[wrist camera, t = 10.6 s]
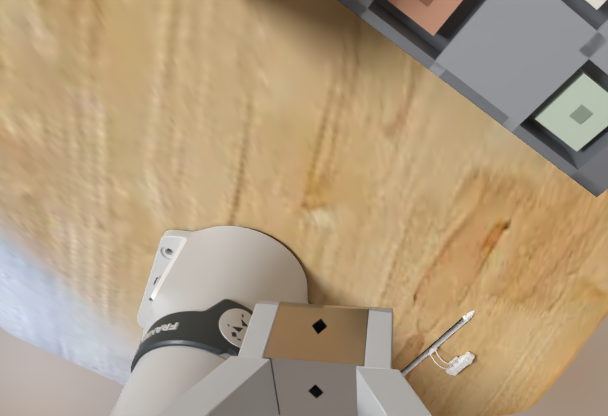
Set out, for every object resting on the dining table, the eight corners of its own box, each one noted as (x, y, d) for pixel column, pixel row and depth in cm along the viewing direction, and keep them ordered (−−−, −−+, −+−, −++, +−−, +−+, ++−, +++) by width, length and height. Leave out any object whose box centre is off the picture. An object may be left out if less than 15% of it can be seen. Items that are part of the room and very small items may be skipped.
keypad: (576, 162, 41) (596, 197, 36) (335, -23, 36) (326, -9, 32) (753, 15, 33) (806, 37, 29) (478, -243, 28) (492, -264, 24)
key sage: (571, 142, 37) (577, 152, 35) (530, 110, 36) (535, 119, 34) (619, 100, 34) (628, 109, 33) (577, 66, 34) (584, 74, 32)
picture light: (471, 306, 51) (473, 321, 50) (505, 324, 52) (509, 340, 50) (393, 375, 59) (393, 391, 57) (423, 390, 60) (424, 406, 58)
